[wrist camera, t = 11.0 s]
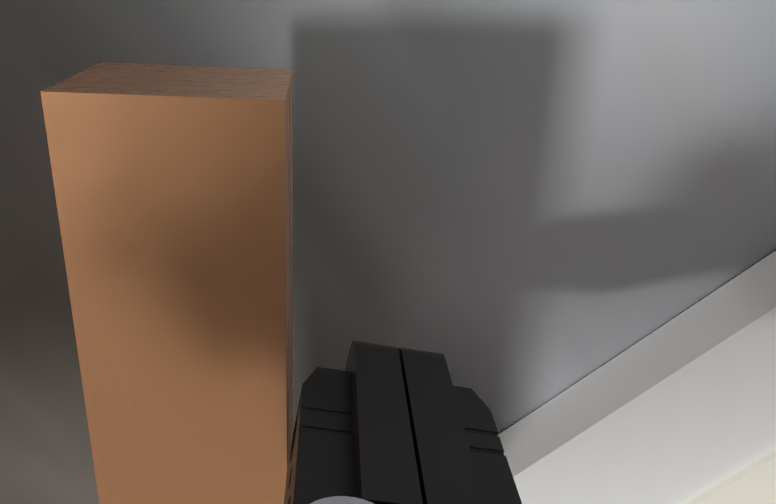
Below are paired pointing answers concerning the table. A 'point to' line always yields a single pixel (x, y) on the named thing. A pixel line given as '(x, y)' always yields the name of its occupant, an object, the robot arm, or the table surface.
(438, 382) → the robot arm
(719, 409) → the label panel
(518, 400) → the table surface
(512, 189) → the table surface
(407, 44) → the table surface
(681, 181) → the table surface
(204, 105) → the bar
